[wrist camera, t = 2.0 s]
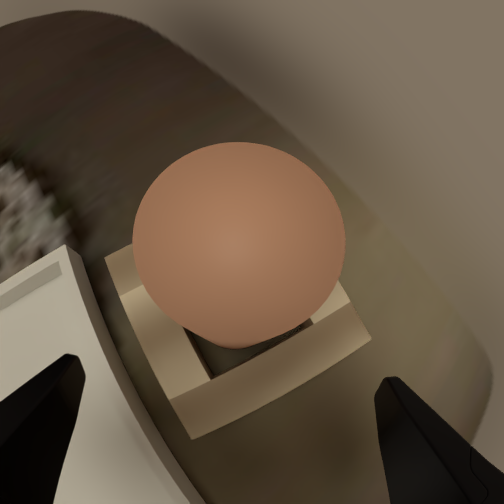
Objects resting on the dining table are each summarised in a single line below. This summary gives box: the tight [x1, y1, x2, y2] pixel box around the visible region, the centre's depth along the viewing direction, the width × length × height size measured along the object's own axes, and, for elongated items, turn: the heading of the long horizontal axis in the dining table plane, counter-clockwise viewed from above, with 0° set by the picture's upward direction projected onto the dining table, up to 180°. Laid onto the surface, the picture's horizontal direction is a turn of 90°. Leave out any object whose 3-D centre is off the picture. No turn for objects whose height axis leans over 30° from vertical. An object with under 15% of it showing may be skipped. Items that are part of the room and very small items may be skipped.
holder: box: [105, 243, 371, 440], centre depth 18 cm, size 11×11×3 cm
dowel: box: [133, 142, 345, 349], centre depth 13 cm, size 5×5×13 cm
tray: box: [0, 245, 206, 504], centre depth 15 cm, size 20×14×2 cm
